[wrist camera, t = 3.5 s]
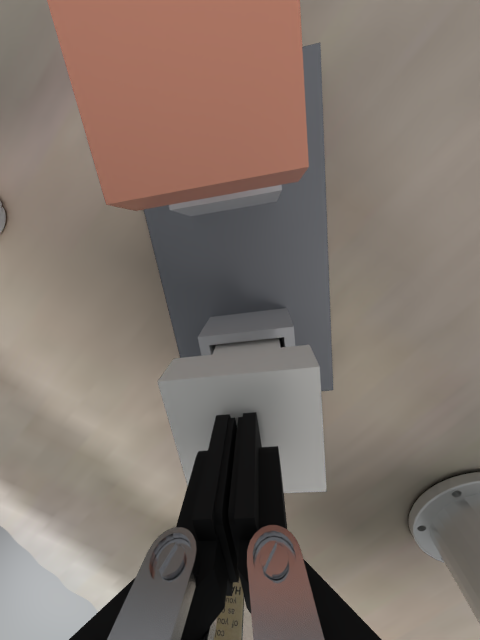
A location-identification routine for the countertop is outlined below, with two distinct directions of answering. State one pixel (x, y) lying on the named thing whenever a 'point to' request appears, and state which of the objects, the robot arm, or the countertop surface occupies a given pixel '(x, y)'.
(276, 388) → the white plunger
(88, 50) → the salmon pink block
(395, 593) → the countertop surface
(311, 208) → the block
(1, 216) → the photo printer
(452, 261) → the countertop surface
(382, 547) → the countertop surface
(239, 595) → the shoe polish box
